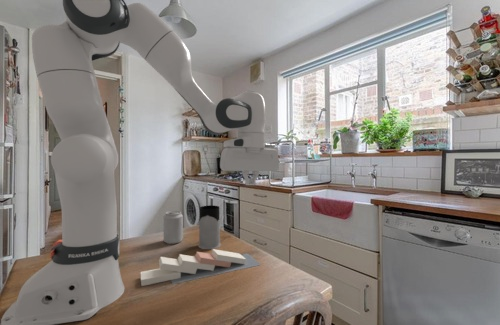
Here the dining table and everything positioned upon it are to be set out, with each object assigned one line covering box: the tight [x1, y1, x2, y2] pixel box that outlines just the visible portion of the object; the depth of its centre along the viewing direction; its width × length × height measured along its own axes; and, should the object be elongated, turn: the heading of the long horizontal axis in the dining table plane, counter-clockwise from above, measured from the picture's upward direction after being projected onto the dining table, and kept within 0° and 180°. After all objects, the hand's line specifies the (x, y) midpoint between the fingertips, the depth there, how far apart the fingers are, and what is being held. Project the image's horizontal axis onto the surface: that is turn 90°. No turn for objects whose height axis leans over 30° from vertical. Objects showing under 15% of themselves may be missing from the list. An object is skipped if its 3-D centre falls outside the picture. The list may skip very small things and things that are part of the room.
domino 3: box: [177, 253, 215, 271], centre depth 72 cm, size 2×5×10 cm
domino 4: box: [194, 251, 231, 267], centre depth 74 cm, size 2×5×10 cm
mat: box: [170, 253, 262, 285], centre depth 75 cm, size 27×10×1 cm, turn 116°
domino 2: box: [158, 256, 197, 274], centre depth 70 cm, size 2×5×10 cm
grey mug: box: [198, 204, 221, 250], centre depth 96 cm, size 9×14×15 cm, turn 178°
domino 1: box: [140, 267, 181, 287], centre depth 68 cm, size 2×5×10 cm
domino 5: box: [210, 248, 246, 264], centre depth 77 cm, size 2×5×10 cm
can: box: [163, 210, 184, 245], centre depth 98 cm, size 8×8×12 cm
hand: (250, 185), depth 79 cm, fingers closed
